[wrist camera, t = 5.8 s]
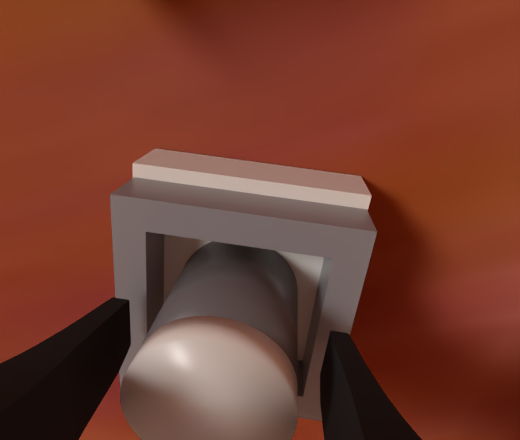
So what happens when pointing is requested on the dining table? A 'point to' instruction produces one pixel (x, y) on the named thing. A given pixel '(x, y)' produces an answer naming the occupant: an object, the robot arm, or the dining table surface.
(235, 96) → the dining table surface
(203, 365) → the gray domed cylinder
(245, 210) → the grey square tray
